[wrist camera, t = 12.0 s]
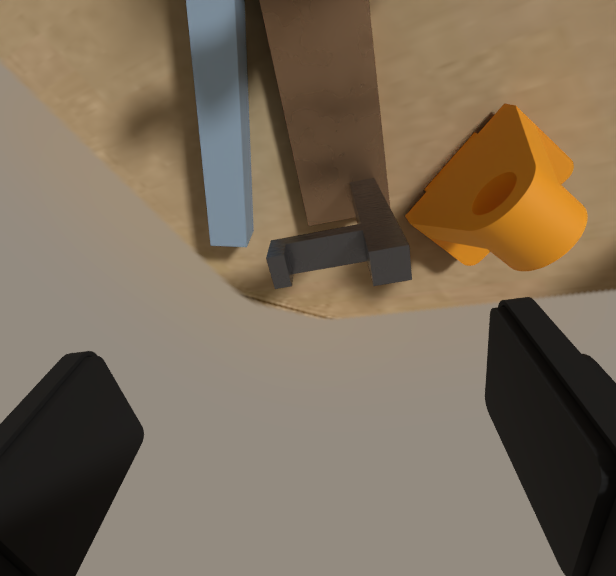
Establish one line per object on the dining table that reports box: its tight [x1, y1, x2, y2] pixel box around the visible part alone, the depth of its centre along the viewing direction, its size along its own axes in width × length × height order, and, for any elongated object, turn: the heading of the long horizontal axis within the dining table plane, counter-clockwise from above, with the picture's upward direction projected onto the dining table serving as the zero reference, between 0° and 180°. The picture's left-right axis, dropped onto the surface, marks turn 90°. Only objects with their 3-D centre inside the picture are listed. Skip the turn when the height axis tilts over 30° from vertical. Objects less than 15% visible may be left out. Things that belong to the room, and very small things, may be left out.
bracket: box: [405, 104, 587, 271], centre depth 27 cm, size 11×7×12 cm
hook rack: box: [259, 0, 412, 289], centre depth 22 cm, size 8×20×15 cm, turn 12°
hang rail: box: [186, 0, 254, 247], centre depth 28 cm, size 3×22×4 cm, turn 178°
